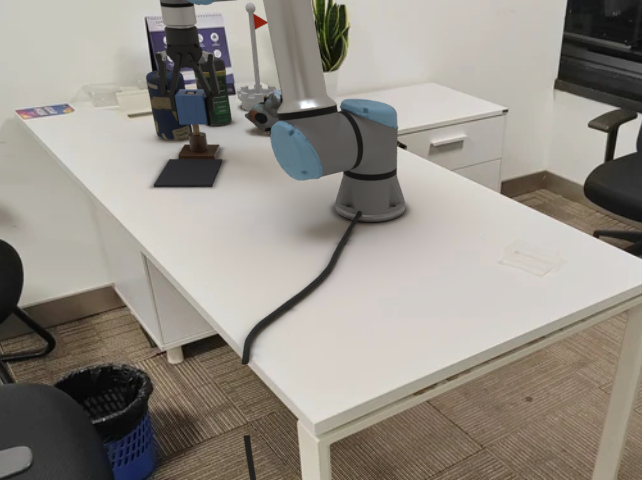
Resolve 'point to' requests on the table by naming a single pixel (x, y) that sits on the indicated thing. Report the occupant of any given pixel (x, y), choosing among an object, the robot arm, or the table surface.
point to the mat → (189, 173)
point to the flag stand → (257, 93)
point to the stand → (198, 146)
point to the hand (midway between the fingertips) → (195, 124)
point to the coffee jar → (221, 101)
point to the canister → (165, 108)
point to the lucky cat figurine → (266, 111)
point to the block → (191, 107)
